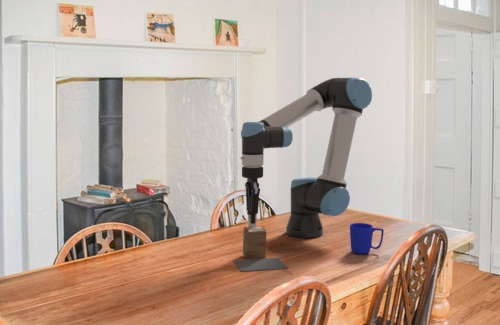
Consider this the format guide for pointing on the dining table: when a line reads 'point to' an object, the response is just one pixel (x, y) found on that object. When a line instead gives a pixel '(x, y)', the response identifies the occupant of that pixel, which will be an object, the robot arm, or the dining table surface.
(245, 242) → the walnut block
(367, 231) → the mug
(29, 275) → the dining table surface
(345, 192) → the robot arm
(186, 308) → the dining table surface
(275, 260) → the mat
